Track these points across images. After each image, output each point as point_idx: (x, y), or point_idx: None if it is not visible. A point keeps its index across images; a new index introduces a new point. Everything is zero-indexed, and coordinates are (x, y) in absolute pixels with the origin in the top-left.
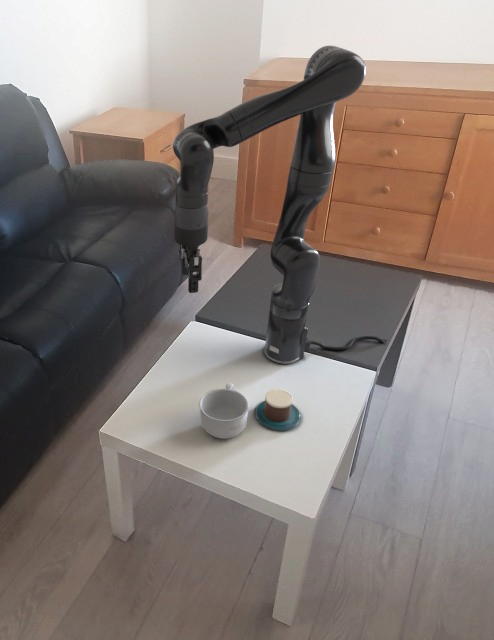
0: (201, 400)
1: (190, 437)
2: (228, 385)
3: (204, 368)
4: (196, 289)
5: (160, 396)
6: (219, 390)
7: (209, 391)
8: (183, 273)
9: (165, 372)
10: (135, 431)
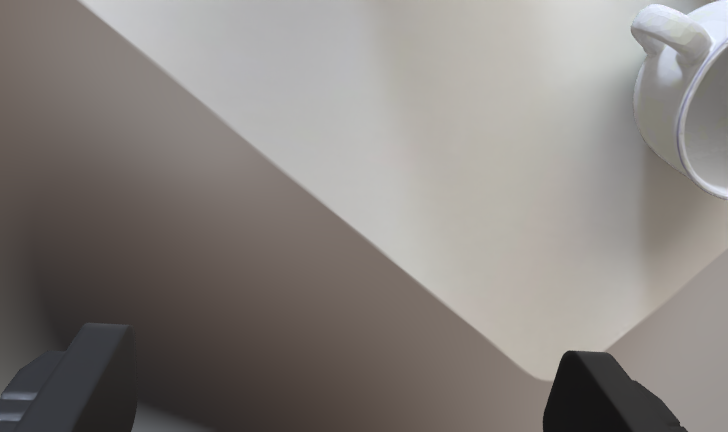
0: (707, 184)
1: (674, 196)
2: (691, 42)
3: (351, 30)
4: (666, 415)
5: (460, 240)
6: (694, 93)
7: (682, 139)
8: (129, 420)
9: (335, 193)
10: (580, 338)
